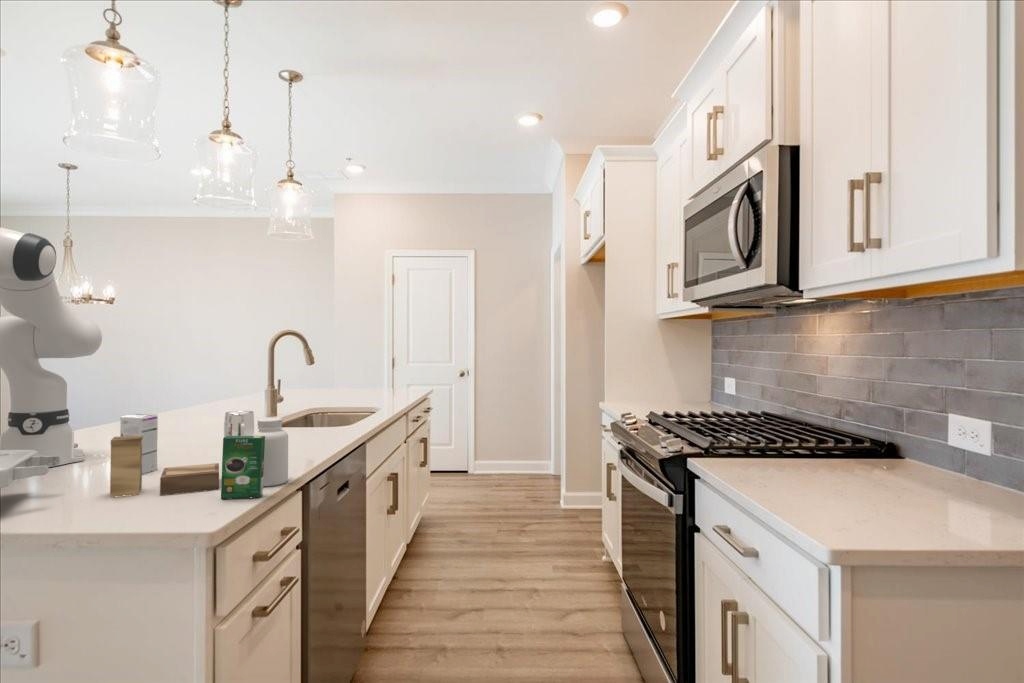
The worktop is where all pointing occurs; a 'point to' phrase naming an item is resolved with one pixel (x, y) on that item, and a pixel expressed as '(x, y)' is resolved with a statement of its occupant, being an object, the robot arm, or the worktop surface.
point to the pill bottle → (274, 451)
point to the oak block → (126, 465)
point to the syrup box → (149, 430)
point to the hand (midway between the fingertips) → (54, 464)
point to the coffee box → (242, 466)
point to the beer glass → (239, 423)
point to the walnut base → (189, 478)
